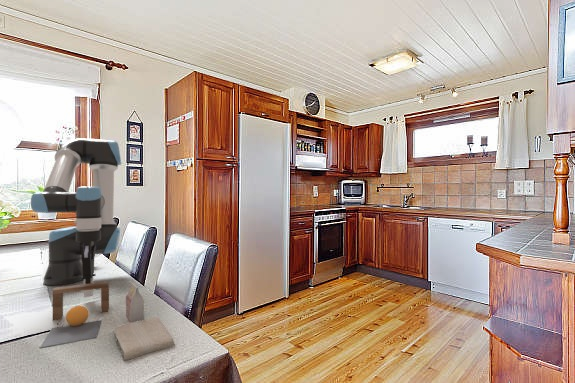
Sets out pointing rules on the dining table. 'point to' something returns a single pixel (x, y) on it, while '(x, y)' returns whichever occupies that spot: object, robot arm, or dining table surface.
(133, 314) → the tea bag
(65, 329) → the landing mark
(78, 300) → the dining table surface
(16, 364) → the dining table surface
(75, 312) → the ball
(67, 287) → the bridge
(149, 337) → the washcloth
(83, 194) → the robot arm
